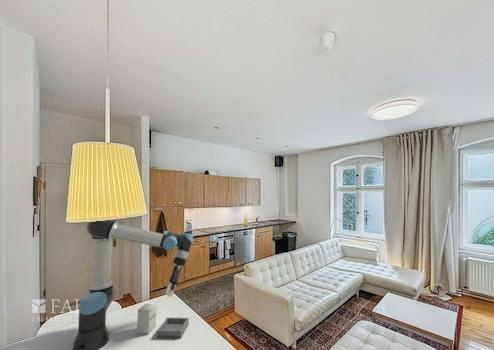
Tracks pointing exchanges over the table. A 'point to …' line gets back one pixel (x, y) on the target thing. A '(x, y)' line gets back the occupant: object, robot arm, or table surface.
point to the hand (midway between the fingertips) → (168, 295)
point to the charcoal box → (173, 328)
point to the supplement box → (146, 318)
